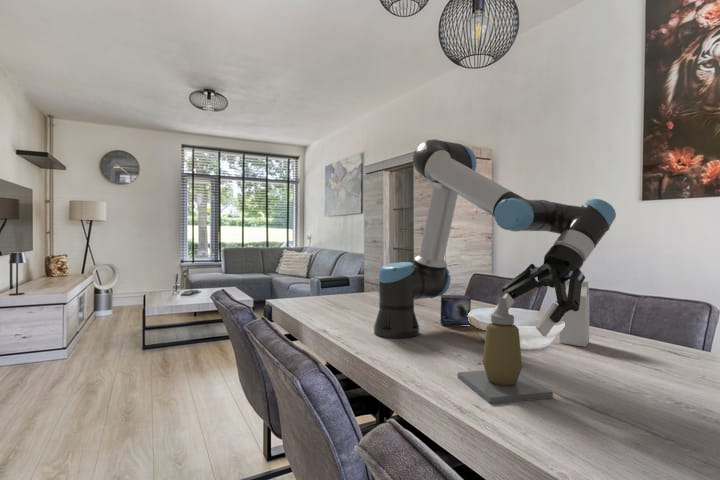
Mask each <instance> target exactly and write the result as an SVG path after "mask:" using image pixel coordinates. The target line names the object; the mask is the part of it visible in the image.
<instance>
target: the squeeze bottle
mask: <svg viewBox="0 0 720 480" xmlns="http://www.w3.org/2000/svg"><path fill="white" fill-rule="evenodd" d="M498 302H499V303H498ZM498 302H497V305H498V308H497V312H496V313H494V314H491V313H490V323H489V324H487V325H486V330H485V336H484V337H485V338H484V347H483V355H482V364H483V367H484V370H485V371H486V374H487V378H488V380H489V381H490V382H492V383H495V384H499V385H514V384H516V382H517V380H518V377H519V375H520V373H521V372H522V369H523V360H522V351H521V349H522V348H521V342H520V341H521V340H520V331H519V327H518V326H516V324H515V316H514V315H513V314H510V313H509V310H508V308H507V303H506V299H505V298H502V297H499V300H498Z"/></svg>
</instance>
